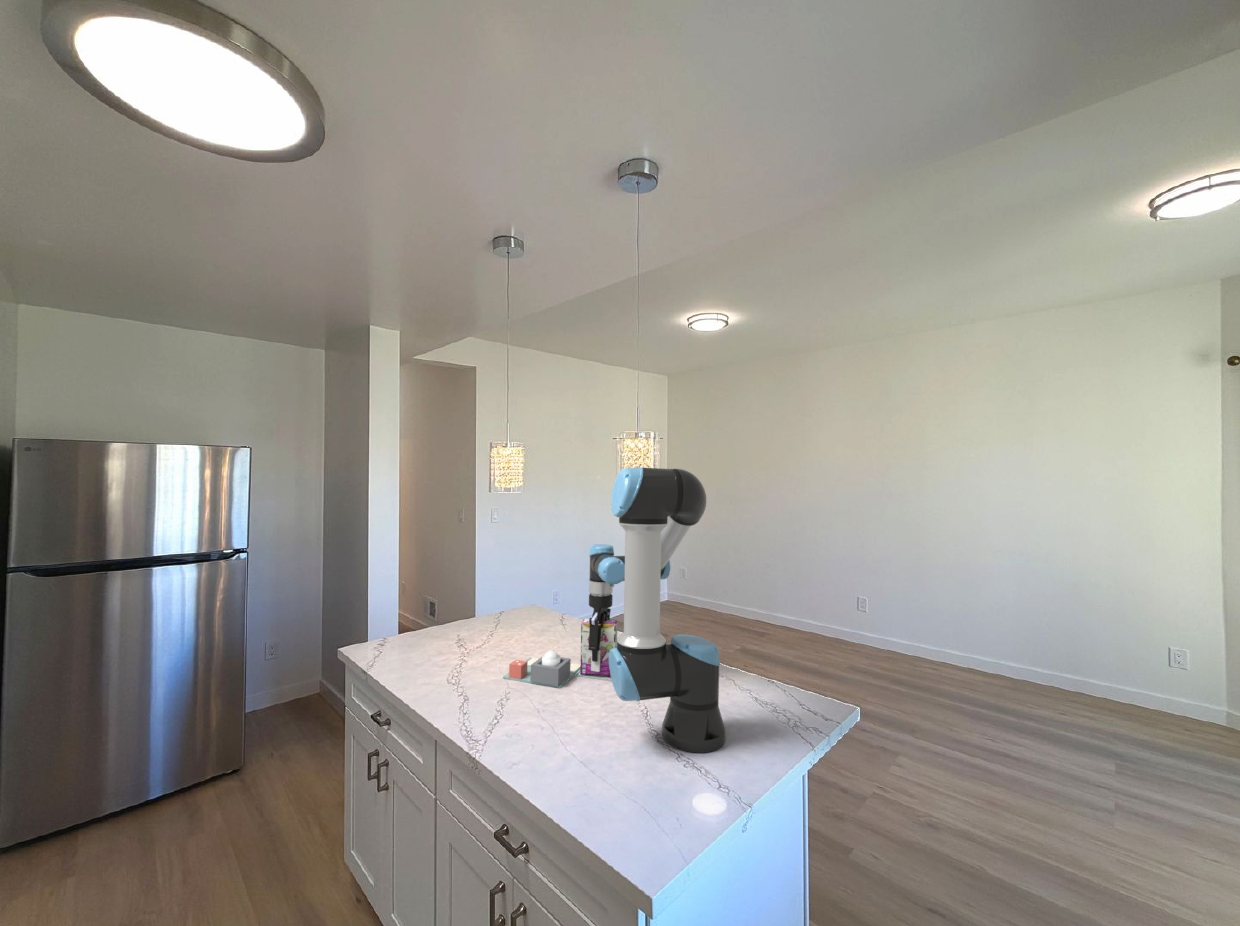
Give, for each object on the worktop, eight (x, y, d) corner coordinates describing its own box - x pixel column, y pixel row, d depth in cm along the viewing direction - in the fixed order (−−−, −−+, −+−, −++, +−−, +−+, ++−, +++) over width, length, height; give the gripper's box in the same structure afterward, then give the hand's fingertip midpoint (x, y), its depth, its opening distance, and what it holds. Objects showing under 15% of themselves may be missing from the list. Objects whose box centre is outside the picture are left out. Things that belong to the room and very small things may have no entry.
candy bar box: (579, 675, 155) (580, 622, 156) (582, 669, 160) (583, 618, 161) (615, 677, 154) (615, 623, 154) (617, 671, 159) (617, 619, 159)
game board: (559, 688, 145) (559, 669, 145) (502, 679, 151) (502, 660, 151) (581, 667, 162) (582, 649, 162) (529, 659, 168) (530, 642, 168)
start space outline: (615, 681, 151) (615, 681, 151) (573, 675, 155) (573, 674, 155) (623, 672, 159) (623, 671, 159) (583, 666, 163) (583, 665, 163)
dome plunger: (555, 676, 148) (555, 655, 148) (538, 673, 149) (538, 652, 150) (563, 669, 153) (563, 649, 153) (546, 666, 155) (547, 646, 155)
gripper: (602, 601, 148) (600, 680, 147) (620, 588, 165) (619, 658, 165) (578, 599, 150) (576, 676, 149) (599, 586, 168) (598, 655, 167)
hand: (598, 667), depth 157 cm, fingers closed on candy bar box, 6 cm apart
